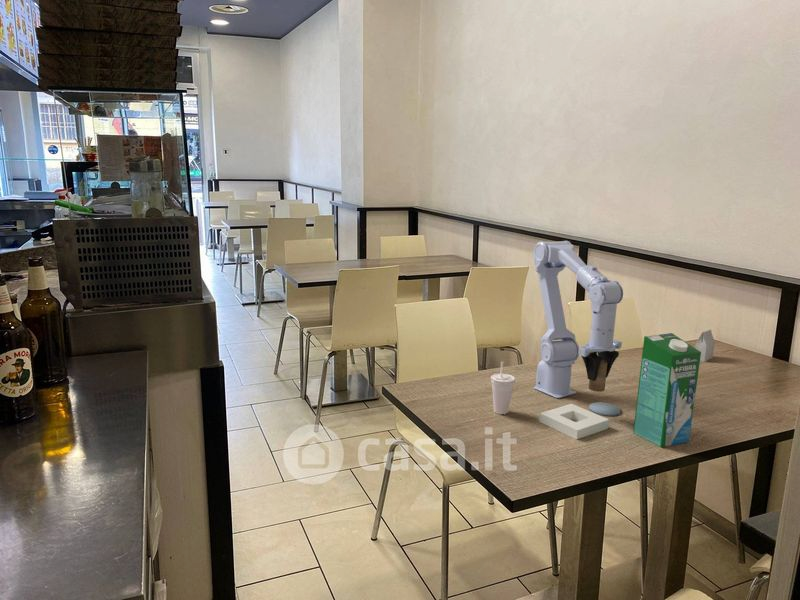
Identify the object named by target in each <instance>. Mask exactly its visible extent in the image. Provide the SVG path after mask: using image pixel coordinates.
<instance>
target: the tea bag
mask: <svg viewBox="0 0 800 600" xmlns="http://www.w3.org/2000/svg"><path fill="white" fill-rule="evenodd" d="M715 343H716V341H715V339H714V336H713V333H712V329H707V330H705V331H702V332H701V334H700V336H699V337H698V339H697V340H696V342H695V346H694V348H696V349H697V350H699V351H700V352H701V357H700V362H701V363H705V362H707V361H709V359H710V360H712V359H713V357H714V356H713V355H714V350H715Z"/></svg>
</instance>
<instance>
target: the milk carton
mask: <svg viewBox="0 0 800 600" xmlns="http://www.w3.org/2000/svg"><path fill="white" fill-rule="evenodd" d="M700 357H701V352H700V351H699V350H697V349H696V348H695V346H692V345H691V344H689V343H688V342H687V341H684V339H681V338H680V337H678V336H677V335H676V334H674V333H673V332H668V333H663V334H654V335H653V334H651V335H646V336H643V343H642V352H641V363H640V372H639V377H638V378H639V379H638V386H637V387H638V389H637V397H636V405H635V414H634V415H635V416H634V425H633V431H632V432H633V433H634V434H636V435H637V436H639V437H641V438H643V439H645V440H647V441H649V442H651V443H652V444H654V445H656V446H658V447H660V448H665V447H670V446H674V445H678V444H684V443H687V442H689V441H690V435H691V429H692V422H693V415H694V407H695V398H696V392H697V387H698V386H697V385H698V378H699V377H698V376H699V370H700V363H701V361H700Z"/></svg>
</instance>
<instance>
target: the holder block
mask: <svg viewBox="0 0 800 600" xmlns="http://www.w3.org/2000/svg"><path fill="white" fill-rule="evenodd" d="M539 423H541V424H543V425H544V426H547V427H549V428H552V429H553V428H554V430H556V431H558V432H559V433H562V434H564V435H566V436H568V437H570V438H571V439H572V438H573V439H574V440H580V439H581V438H584V437H588V436H590V435H593V434H596V433H600V432H602V431H605V430H608V429H609V425H610V424H609V423H610V419H609V418H607V417H604V416H603V415H599V414H596V413H593V412H592V411H591V410H588V409H585V408H583V407H580V406H578V405H576V404H573V403H569V404H566V405H562V406H559V407H556V408H552V409H549V410H546V411H543V412H539Z"/></svg>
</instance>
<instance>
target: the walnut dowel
mask: <svg viewBox="0 0 800 600" xmlns="http://www.w3.org/2000/svg"><path fill="white" fill-rule="evenodd" d="M606 372H607V361H604V360H602V361H601V363H600V366H599V369H598V374H597V378H596V381H592V380H590V379H588V380H589V381H588V390H590V391H593V392H598V393H600V392H605V389H606V379H607V378H606Z"/></svg>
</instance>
